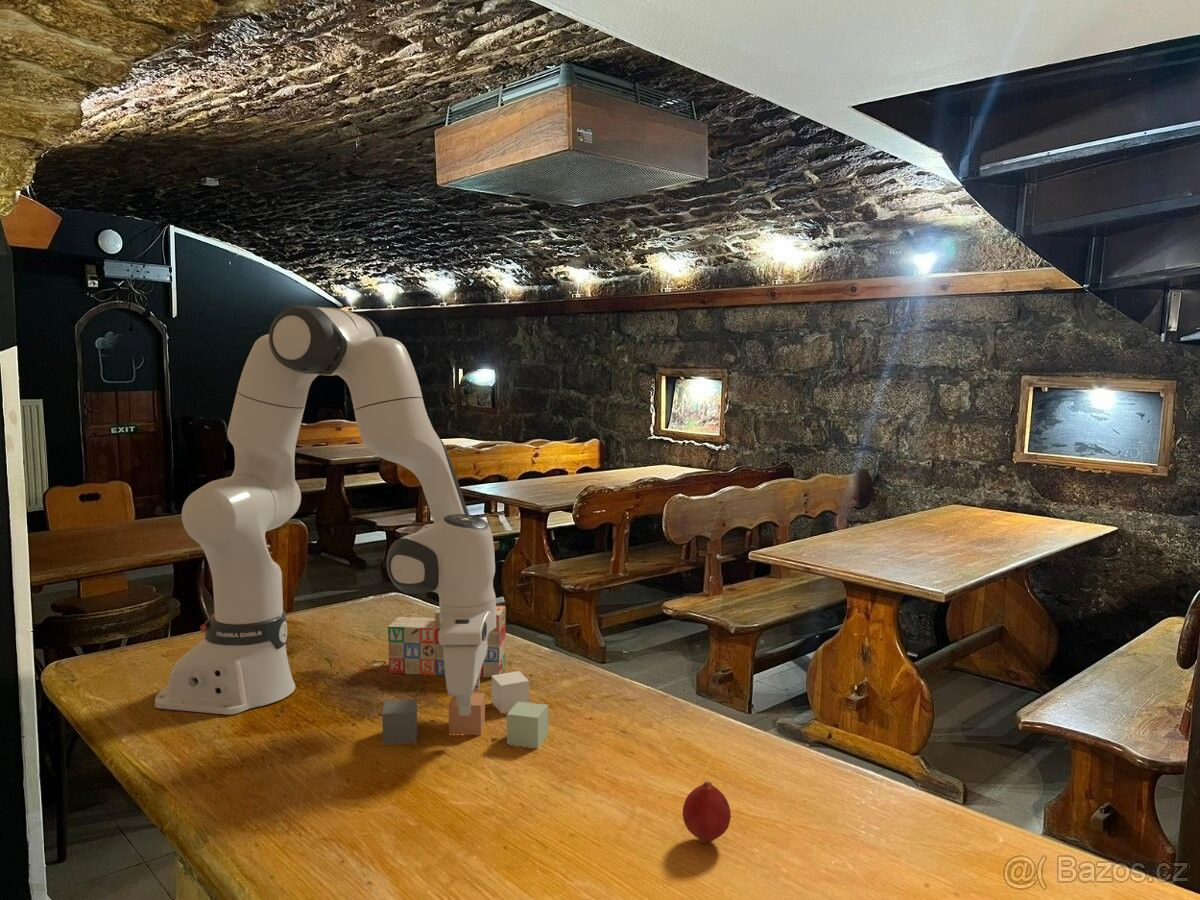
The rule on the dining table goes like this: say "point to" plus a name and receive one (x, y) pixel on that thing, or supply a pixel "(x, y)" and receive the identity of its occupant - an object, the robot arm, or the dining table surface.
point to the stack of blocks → (437, 646)
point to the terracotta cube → (467, 723)
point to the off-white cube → (509, 690)
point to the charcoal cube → (399, 721)
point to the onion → (706, 813)
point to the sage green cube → (527, 724)
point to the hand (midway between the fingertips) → (469, 701)
